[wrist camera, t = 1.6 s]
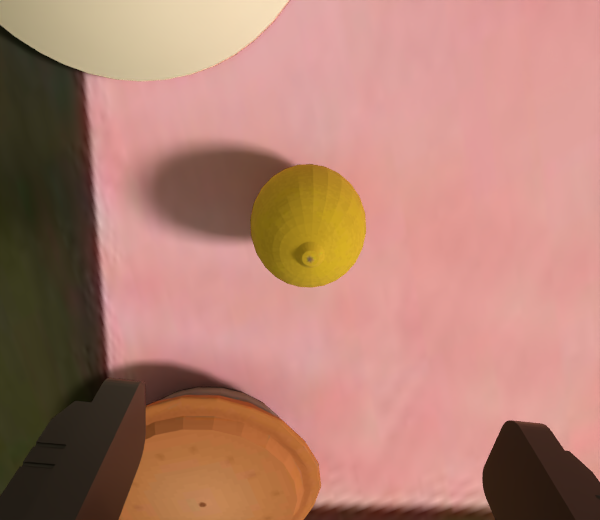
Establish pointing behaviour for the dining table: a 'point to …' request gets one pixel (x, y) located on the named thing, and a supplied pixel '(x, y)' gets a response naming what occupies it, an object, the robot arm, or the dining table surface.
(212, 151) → the dining table surface
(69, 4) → the saucer
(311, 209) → the lemon
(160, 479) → the pie
